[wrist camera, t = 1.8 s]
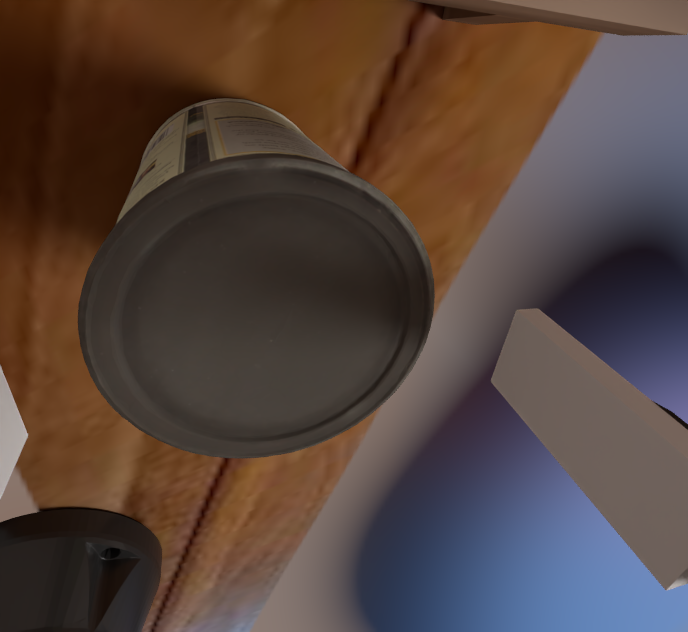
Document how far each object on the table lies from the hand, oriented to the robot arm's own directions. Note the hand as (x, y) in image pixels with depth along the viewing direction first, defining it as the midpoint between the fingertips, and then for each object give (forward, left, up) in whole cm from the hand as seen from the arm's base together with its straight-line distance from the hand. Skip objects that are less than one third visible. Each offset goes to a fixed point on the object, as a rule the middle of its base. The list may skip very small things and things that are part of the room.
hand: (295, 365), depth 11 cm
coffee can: (0, 0, -16) cm, 16 cm away
